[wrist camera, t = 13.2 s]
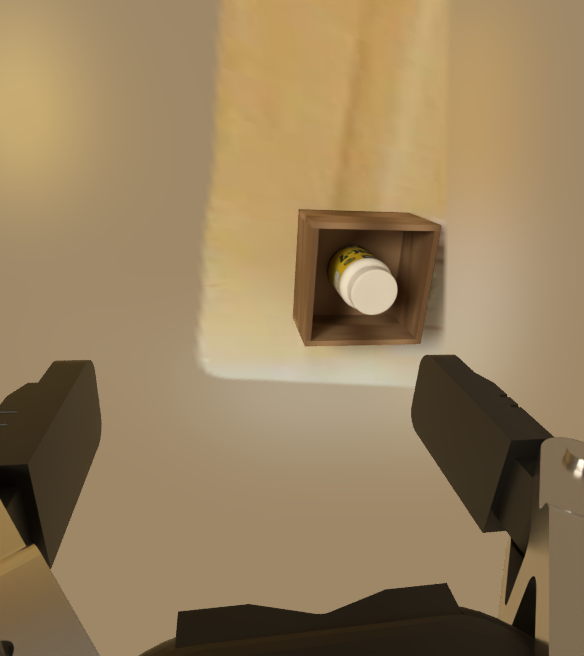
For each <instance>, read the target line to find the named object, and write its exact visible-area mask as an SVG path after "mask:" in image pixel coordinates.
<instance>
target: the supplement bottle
mask: <svg viewBox="0 0 584 656" xmlns="http://www.w3.org/2000/svg"><path fill="white" fill-rule="evenodd" d="M327 276H328V279H329V281H330V283H331V284H332V285H333V287H334V288H335V289H336V291H337V292H338V293H339V294H340V296H341V297H342V298H343V300H344V301H345V302H346V303H347V304H348V305H349V306H351V307H353V308H355V309H357V310H359V311H360V312H362V313H364V314H368V315H376V314H380V313H382V312H384V311H386V310H387V309H388V308H389V307H390V306H391V305H392V304H393V303H394V301H395V299H396V296H397V283H396V281H395V279H394V277H393V276H392V274H391V272H390V270H389V268H388V267H387V266H386V265H385V264H384V263H383V262H382V261H381V260H379V259H378V258H377V257H375V256H374V255H372V254H371V253H370V252H368V251H367V250H366V249H364V248H362V247H360V246H357V245H346V246H343V247H341V248H339V249H337V250H336V251H335V252H334V253H333V254H332V255H331V257H330V258H329V260H328V263H327Z"/></svg>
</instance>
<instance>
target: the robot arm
mask: <svg viewBox="0 0 584 656" xmlns="http://www.w3.org/2000/svg"><path fill="white" fill-rule="evenodd" d="M411 418H412V423H413V427H414V429H415V431H416V433H417V435H418V436H419V437H420V439H421V441H422V442H423V444H424V445H425V446H426V448H427V450H428V451H429V453H430V454H431V456H432V457H433V459H434V460H435V461H436V463H437V465H438V466H439V467H440V469H441V471H442V472H443V474H444V475H445V477H446V478H447V480H448V481H449V483H450V484H451V486H452V487H453V489H454V490H455V492H456V493H457V495H458V496H459V497H460V499H461V501H462V502H463V504H464V505H465V507H466V508H467V509H468V511H469V513H470V514H471V516H472V517H473V519H474V520H475V522H476V523H477V525H478V526H479V528H480V529H481V531H482V532H483V533H486V532H497V531H507V532H508V534H509V535H510V538H509V541H508V544H507V547H506V551H505V560H504V569H503V579H502V587H501V596H500V605H499V614H498V618H495V617H492V616H490V615H487V614H484V613H482V612H479V611H475V610H472V609H468V608H464V607H459V606H458V604H457V602H456V601H455V599H454V597H453V595H452V593H451V591H450V589H449V587H448V585H447V583H443V584H434V585H424V586H415V587H405V588H397V589H386V590H383V591H381V592H378V593H376V594H374V595H371V596H369V597H366V598H364V599H362V600H359V601H357V602H354V603H352V604H349V605H347V606H344V607H342V608H339V609H337V610H334V611H332V612H329V613H326V614H312V613H305V612H298V611H292V610H285V609H279V608H272V607H265V606H258V605H252V604H251V605H250V604H246V605H237V606H227V607H218V608H209V609H199V610H190V611H180V612H178V619H177V631H176V637H175V638H173V639H170V640H168V641H165V642H163V643H161V644H159V645H157V646H155V647H153V648H151V649H149V650H147V651H145V652H144V653H143V654H141V655H139V656H584V442H582V441H579V440H575V439H570V438H564V437H563V438H562V437H553V436H552V435H551V434H550V433H549V432H548V431H547V430H546V429H545V428H543V427H542V426H541V425H540V424H539V423H538V422H537V421H536V420H535V419H533V418H532V417H531V416H530V415H529V414H528V413H527V412H526V411H525V410H523V409H522V408H521V407H518V404H517V403H516V402H514V401H513V400H512V399H511V398H510V397H507V394H506V393H505V392H504V391H502V390H501V389H500V388H499V387H498V386H497V385H496V384H495V383H493V382H491V381H489V380H488V379H486V378H484V377H482V376H480V375H478V374H476V373H475V372H473V371H472V370H471V369H470V368H469V367H468V366H467V365H466V364H465V363H464V362H463V361H462V360H461V359H459V358H458V357H457V356H456V355H426V356H424V357H423V358H422V360H421V362H420V366H419V371H418V376H417V381H416V387H415V392H414V397H413V402H412V408H411ZM100 436H101V413H100V406H99V398H98V391H97V383H96V375H95V369H94V365H93V363H92V361H91V360H72V361H54V362H53V363H52V364H51V366H50V367H49V368H48V370H47V371H46V373H45V374H44V375H43V377H42V378H41V379H40V381H39V382H38V383H27V384H25V385H24V386H22V387H21V388H19V389H18V390H16V391H14V392H13V393H11V394H10V395H8V396H7V397H6V398H5V399H4V401H3V402H2V403H1V405H0V656H100V655H99V653H98V651H97V650H96V648H95V646H94V644H93V643H92V641H91V639H90V637H89V636H88V634H87V632H86V630H85V629H84V627H83V625H82V624H81V622H80V620H79V618H78V617H77V615H76V613H75V611H74V610H73V608H72V606H71V605H70V603H69V601H68V599H67V598H66V596H65V594H64V592H63V591H62V589H61V587H60V585H59V584H58V582H57V580H56V578H55V577H54V575H53V573H52V572H51V570H50V569H51V567H52V565H53V562H54V560H55V557H56V554H57V552H58V549H59V547H60V544H61V542H62V539H63V536H64V534H65V531H66V528H67V526H68V523H69V521H70V518H71V516H72V513H73V510H74V508H75V505H76V503H77V500H78V498H79V495H80V492H81V489H82V487H83V485H84V482H85V479H86V477H87V474H88V471H89V469H90V466H91V464H92V461H93V459H94V456H95V453H96V451H97V448H98V446H99V442H100Z"/></svg>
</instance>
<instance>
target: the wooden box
mask: <svg viewBox="0 0 584 656" xmlns="http://www.w3.org/2000/svg"><path fill="white" fill-rule="evenodd" d="M440 231H441V225H439V224H436V223H434V222H431V221H429V220H426V219H423V218H421V217H418V216H416V215H413V214H411V213H399V212H366V211H333V210H301V209H299V217H298V235H297V253H296V271H295V289H294V307H293V319H294V321H295V324H296V326H297V328H298V331H299V333H300V336H301V338H302V340H303V343H304V345H305V346H343V345H393V344H420V342H421V337H422V331H423V326H424V320H425V314H426V309H427V303H428V298H429V292H430V286H431V281H432V275H433V270H434V264H435V258H436V253H437V247H438V242H439V236H440ZM346 245H357V246H360V247H362V248H364V249H366V250H367V251H368V252H370V253H371V254H372V255H374V256H375V257H377V258H378V259H379V260H381V261H382V262H383V263H384V264H385V265H386V266H387V267H388V268H389V270H390V272H391V274H392V276H393V277H394V279H395V281H396V283H397V296H396V299H395V301H394V303H393V304H392V305H391V306H390V307H389V308H388V309H387V310H386V311H384V312H382V313H380V314H376V315H368V314H364V313H362V312H360V311H359V310H357V309H355V308H353V307H351V306H349V305H348V304H347V303H346V302H345V301H344V300H343V298H342V297H341V296H340V294H339V293H338V292H337V291H336V289H335V288H334V287H333V285H332V284H331V283H330V281H329V279H328V276H327V263H328V260H329V258H330V257H331V255H332V254H333V253H334V252H335V251H336V250H337V249H339V248H341V247H343V246H346Z"/></svg>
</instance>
